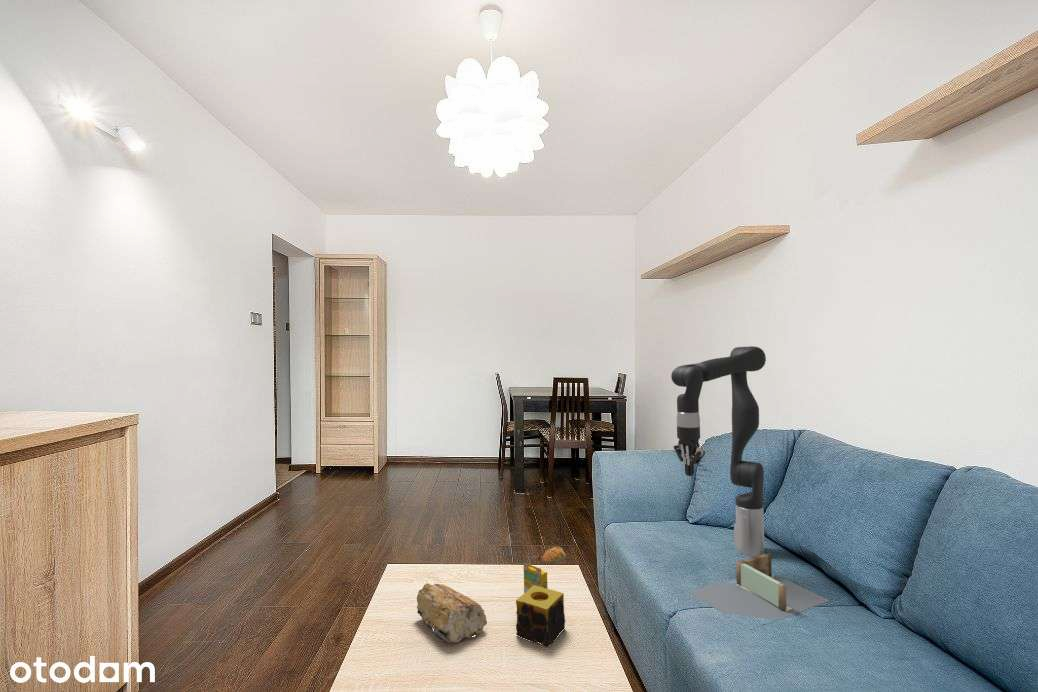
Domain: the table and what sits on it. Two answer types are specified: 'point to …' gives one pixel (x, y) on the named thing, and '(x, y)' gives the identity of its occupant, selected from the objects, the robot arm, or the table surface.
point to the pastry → (553, 555)
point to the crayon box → (534, 577)
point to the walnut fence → (761, 563)
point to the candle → (540, 615)
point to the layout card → (757, 600)
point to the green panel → (761, 584)
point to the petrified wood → (450, 612)
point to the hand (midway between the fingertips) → (689, 475)
